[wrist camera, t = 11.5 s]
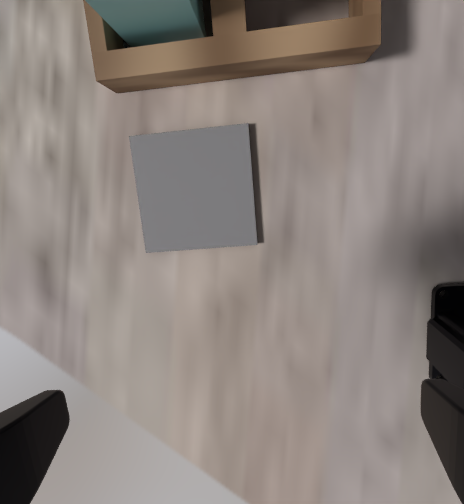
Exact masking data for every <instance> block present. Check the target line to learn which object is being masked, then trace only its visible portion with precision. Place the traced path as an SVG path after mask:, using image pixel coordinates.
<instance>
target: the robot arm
mask: <svg viewBox="0 0 464 504" xmlns="http://www.w3.org/2000/svg"><path fill="white" fill-rule="evenodd" d="M441 291H445V294H444V295H443V296H440V292H441ZM426 357H427V359H428V360H429V378H430V379H425V380H423V381H422V385H421V416H422V419H423V422H424V424H425V427H426V429H427V431H428V433H429V435H430V438H431V440H432V442H433V444H434V446H435V449H436V451H437V453H438V455H439V457H440V460H441V462H442V464H443V466H444V468H445V471H446V473H447V475H448V477H449V479H450V481H451V483H452V486H453V488H454V490H455V491H456V493H457V495H458V497H459V499H460V501H461V502H462V504H464V283H458V284H441V285H437V286H436V287H434V288H433V290H432V300H431V319H430V320H429V321H428V323H427V354H426ZM438 375H441V377H440V378H436V377H437V376H438ZM68 426H69V412H68V408H67V403H66V399H65V395H64V393H63V391H61V390H47V391H44V392H42V393H40V394H38V395H36V396H33V397H31V398H29V399H27V400H25V401H23V402H21V403H19V404H17V405H15V406H13V407H11V408H9V409H7V410H5V411H3V412H1V413H0V504H30V503H31V501H32V499H33V497H34V496H35V494H36V492H37V490H38V488H39V487H40V485H41V483H42V480H43V479H44V477H45V475H46V473H47V470H48V468H49V466H50V464H51V462H52V460H53V458H54V456H55V454H56V451H57V449H58V447H59V445H60V443H61V441H62V439H63V437H64V435H65V433H66V431H67V428H68Z"/></svg>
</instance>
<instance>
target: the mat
mask: <svg viewBox="0 0 464 504" xmlns="http://www.w3.org/2000/svg"><path fill="white" fill-rule="evenodd" d="M129 140H130V147H131V154H132V161H133V167H134V174H135V181H136V188H137V195H138V202H139V209H140V216H141V222H142V229H143V236H144V243H145V250H146V253H150V252H164V251H178V250H192V249H206V248H220V247H234V246H248V245H257V232H256V218H255V205H254V192H253V178H252V165H251V152H250V138H249V125H248V123H246V124H237V125H228V126H218V127H209V128H200V129H191V130H182V131H173V132H164V133H154V134H145V135H136V136H129Z"/></svg>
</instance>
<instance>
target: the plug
mask: <svg viewBox="0 0 464 504" xmlns="http://www.w3.org/2000/svg"><path fill="white" fill-rule="evenodd" d="M85 1H86V2H87V3H88V4H89V5H90V6H91V7H92V8H93V9H94V10H95V11H96V12H97V13H98V14H99V15H100V16H101V17H102V18H103V19H104V20H105V21H106V22H107V23H108V24H109V25H110V26H111V27H112V28H113V29H114V30H115V31H116V32H117V33H118V34H119V35H120V36H121V37H122V38H123V39H124V40H125V41H126V43H127V44H128V45H129V46H130V47H139V46H146V45H153V44H160V43H168V42H175V41H182V40H189V39H197V38H204V37H206V32H205V23H204V13H203V3H202V0H85Z"/></svg>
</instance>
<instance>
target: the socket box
mask: <svg viewBox="0 0 464 504" xmlns="http://www.w3.org/2000/svg"><path fill="white" fill-rule="evenodd" d="M83 1H84V8H85V14H86V20H87V26H88V33H89V39H90V45H91V51H92V58H93V64H94V70H95V77H96V81H97V82H99V83H101V84H102V85H104V86H106V87H107V88H109V89H111V90H112V91H114V92H116V93H123V92H131V91H139V90H147V89H155V88H163V87H172V86H180V85H188V84H196V83H204V82H212V81H220V80H228V79H236V78H244V77H252V76H260V75H269V74H277V73H285V72H293V71H301V70H309V69H317V68H325V67H333V66H341V65H349V64H358V63H365V62H366V61H367V60H368V58H369V57H370V56H371V55H372V54H373V53H374V52H375V50H376V49H377V48H378V47H379V46H380V45H381V0H349V18H342V19H335V20H327V21H320V22H313V23H306V24H298V25H291V26H284V27H277V28H269V29H262V30H255V31H248V32H247V25H246V11H245V0H210V4H211V15H212V26H213V36H211V37H204V38H197V39H189V40H182V41H175V42H168V43H160V44H153V45H146V46H139V47H131V48H124V45H123V38H122V37H121V36H120V35H119V34H118V33H117V32H116V31H115V30H114V29H113V28H112V27H111V26H110V25H109V24H108V23H107V22H106V21H105V20H104V19H103V18H102V17H101V16H100V15H99V14H98V13H97V12H96V11H95V10H94V9H93V8H92V7H91V6H90V5H89V4H88V3H87V2H86V1H85V0H83Z"/></svg>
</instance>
